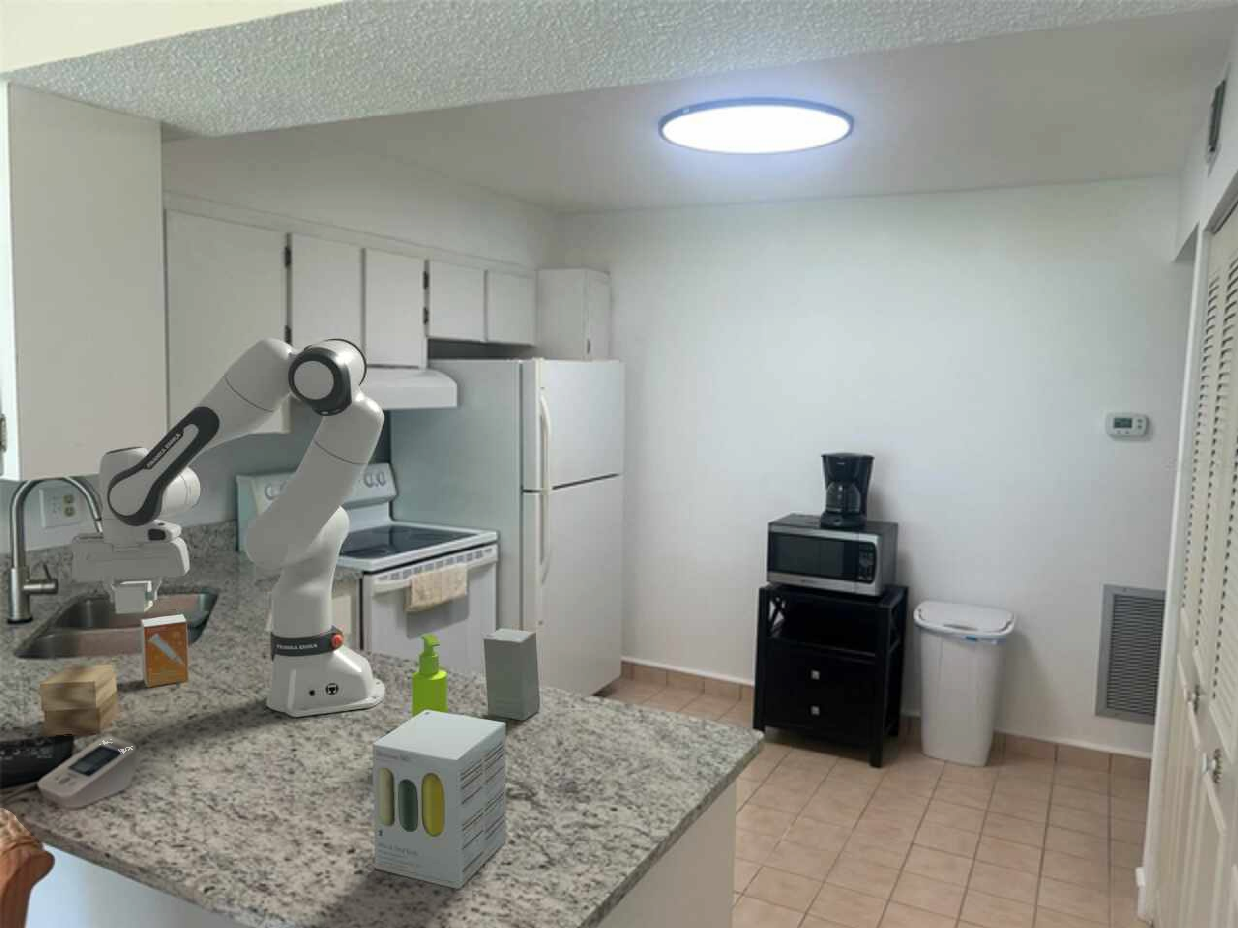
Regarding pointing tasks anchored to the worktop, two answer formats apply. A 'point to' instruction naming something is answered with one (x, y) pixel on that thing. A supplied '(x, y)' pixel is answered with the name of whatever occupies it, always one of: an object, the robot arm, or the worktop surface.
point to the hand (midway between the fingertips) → (134, 601)
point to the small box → (164, 650)
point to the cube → (132, 597)
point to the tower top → (78, 687)
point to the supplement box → (439, 797)
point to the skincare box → (512, 674)
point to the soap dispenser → (429, 680)
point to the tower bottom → (82, 719)
